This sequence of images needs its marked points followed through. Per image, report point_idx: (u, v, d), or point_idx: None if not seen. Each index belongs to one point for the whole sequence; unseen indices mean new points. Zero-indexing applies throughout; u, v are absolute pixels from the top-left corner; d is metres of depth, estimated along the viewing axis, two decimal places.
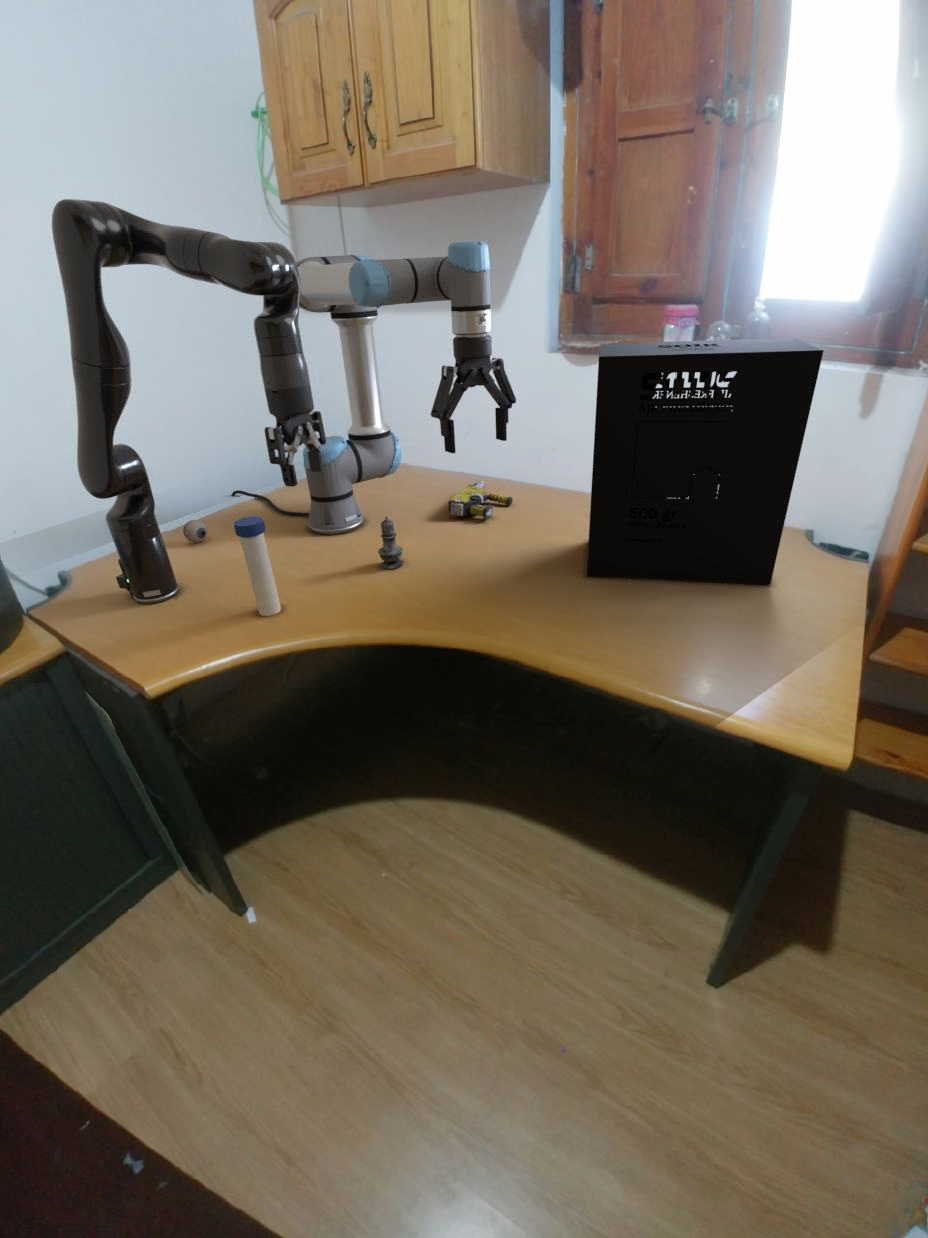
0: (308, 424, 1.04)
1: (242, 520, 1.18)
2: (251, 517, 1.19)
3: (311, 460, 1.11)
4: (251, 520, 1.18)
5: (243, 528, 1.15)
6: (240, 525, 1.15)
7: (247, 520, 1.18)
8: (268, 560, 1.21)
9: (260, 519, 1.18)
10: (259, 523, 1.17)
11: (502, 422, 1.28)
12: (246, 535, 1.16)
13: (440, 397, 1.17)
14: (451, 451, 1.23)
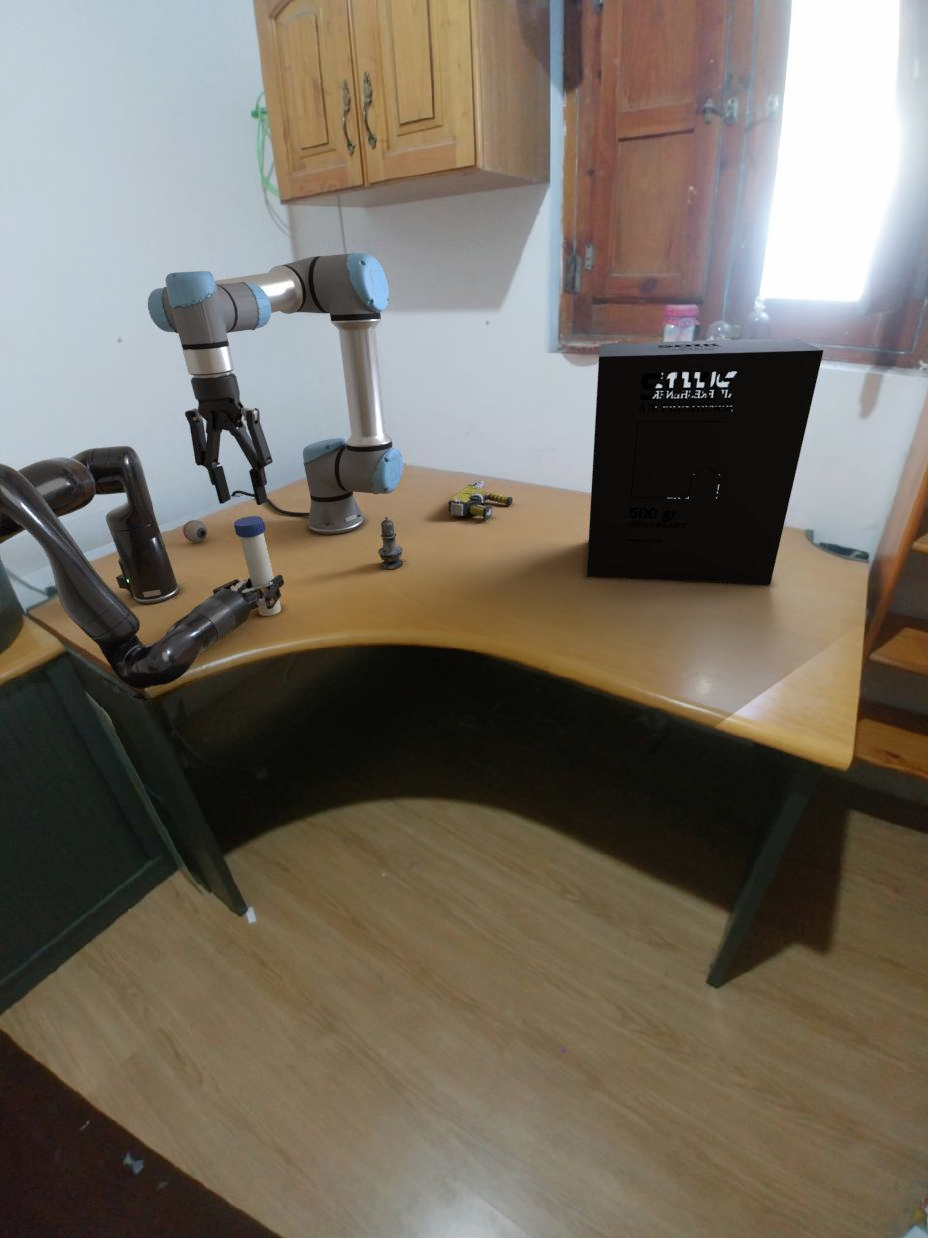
0: None
1: (242, 520, 1.18)
2: (251, 517, 1.19)
3: None
4: (251, 520, 1.18)
5: (243, 528, 1.15)
6: (240, 525, 1.15)
7: (247, 520, 1.18)
8: (268, 560, 1.21)
9: (260, 519, 1.18)
10: (259, 523, 1.17)
11: (224, 480, 1.15)
12: (246, 535, 1.16)
13: (264, 443, 1.09)
14: (266, 499, 1.15)
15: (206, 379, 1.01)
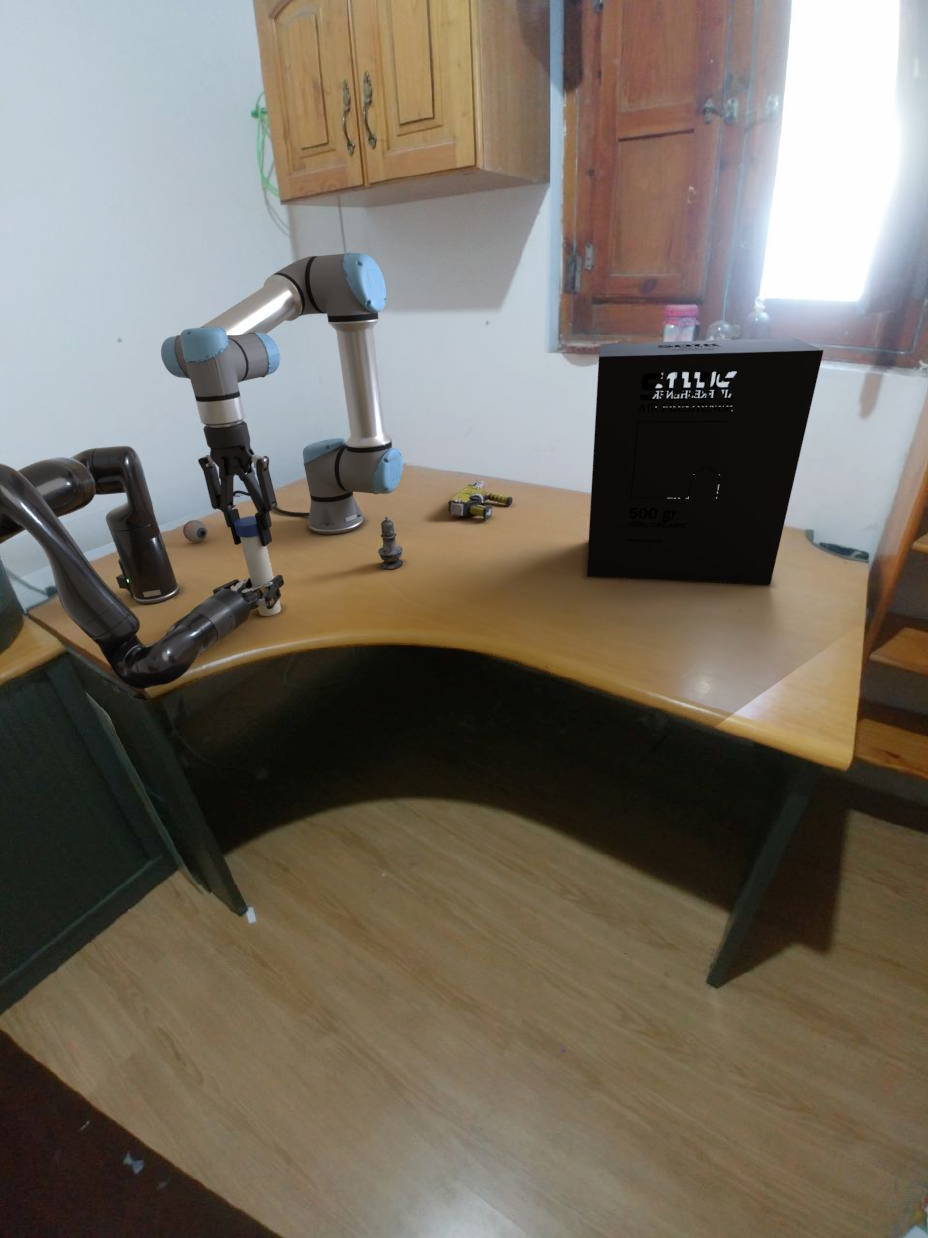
0: None
1: (242, 520, 1.18)
2: (251, 517, 1.19)
3: None
4: (251, 520, 1.18)
5: (243, 528, 1.15)
6: (240, 525, 1.15)
7: (247, 520, 1.18)
8: (268, 560, 1.21)
9: None
10: None
11: None
12: (246, 535, 1.16)
13: (271, 489, 1.13)
14: (271, 540, 1.20)
15: (218, 429, 1.05)
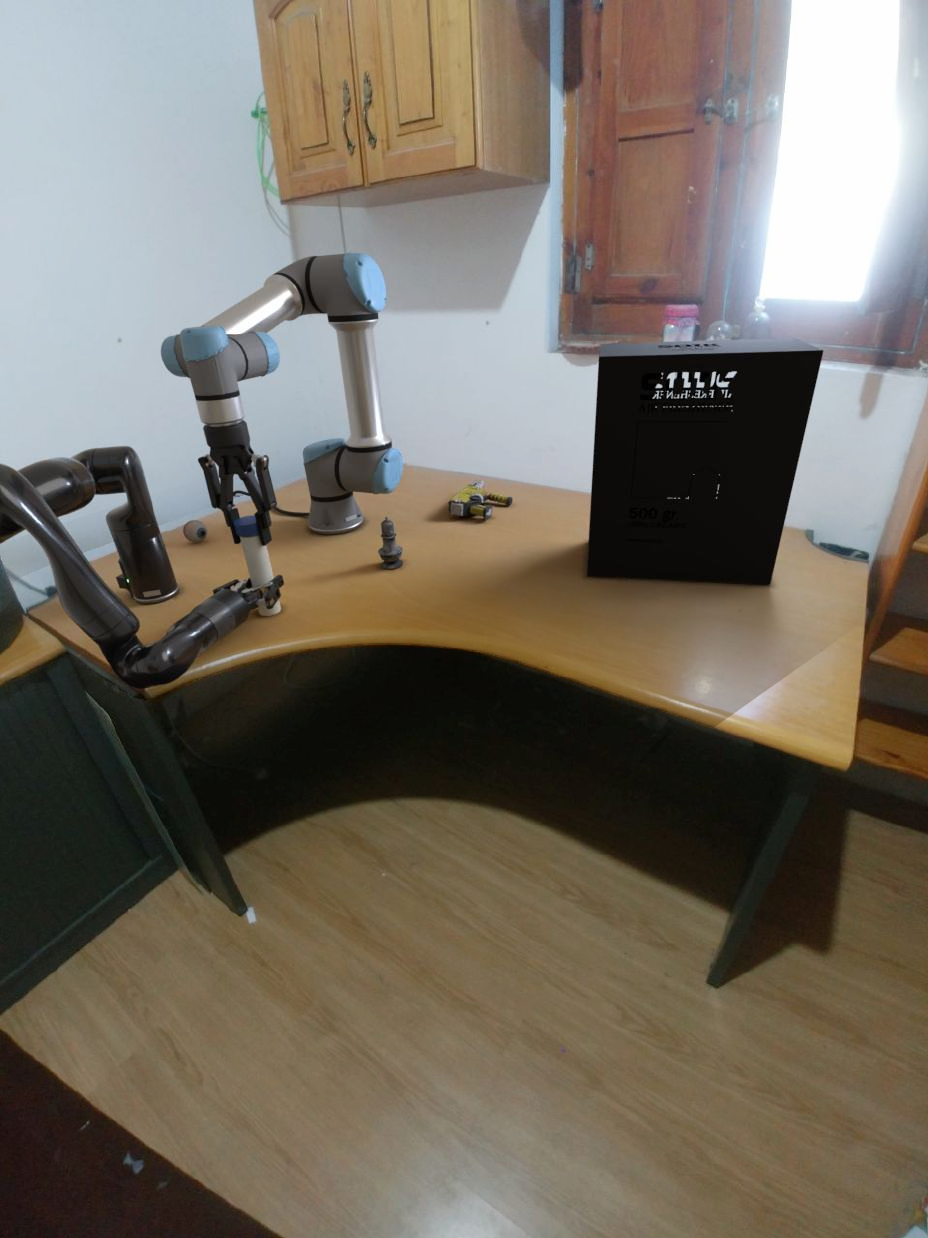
0: None
1: (248, 522, 1.16)
2: (238, 522, 1.16)
3: None
4: (246, 519, 1.18)
5: None
6: None
7: (246, 520, 1.17)
8: (268, 560, 1.21)
9: (241, 517, 1.19)
10: None
11: None
12: None
13: (270, 488, 1.13)
14: (271, 539, 1.19)
15: (218, 428, 1.05)
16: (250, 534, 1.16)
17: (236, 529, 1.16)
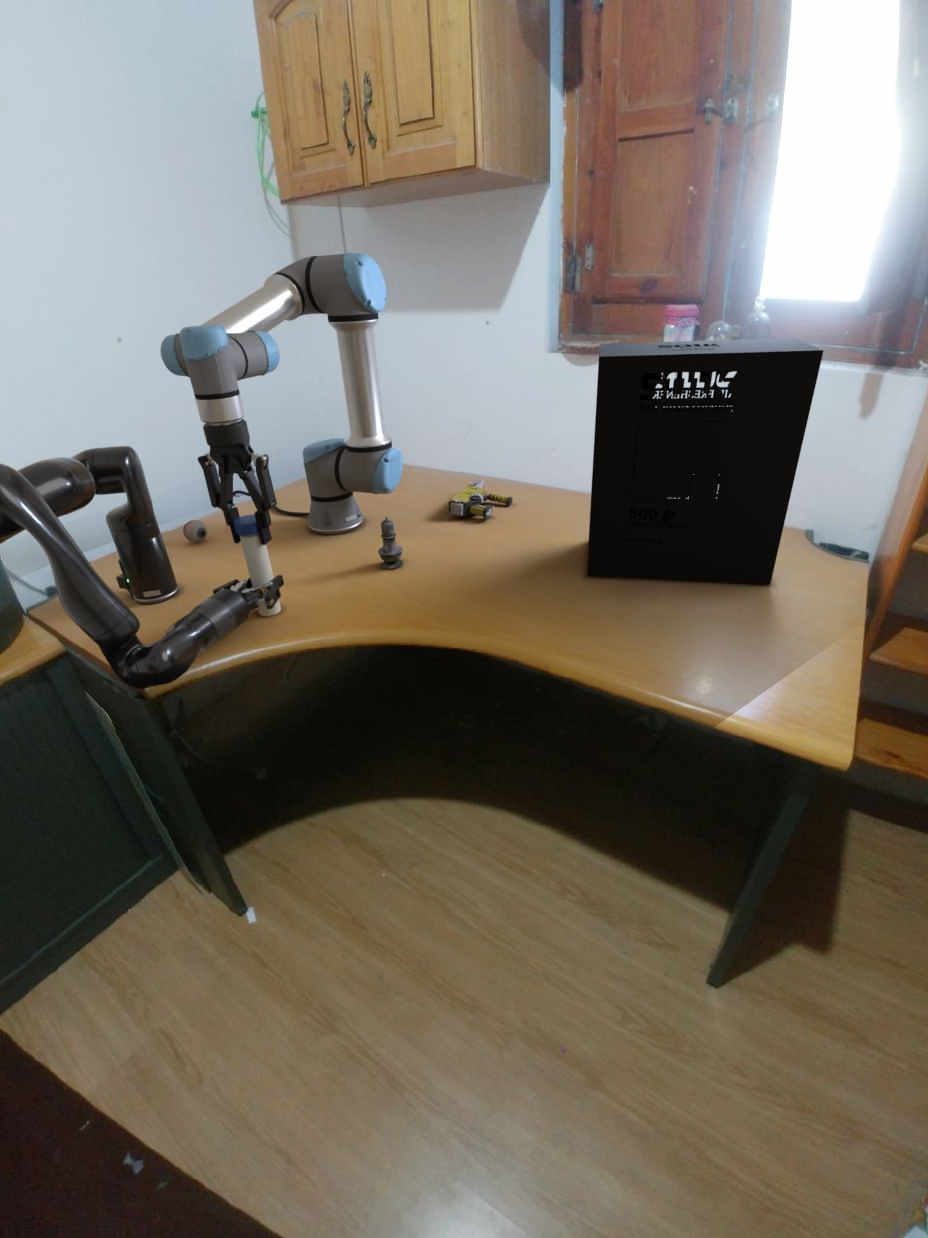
0: None
1: (253, 517, 1.18)
2: None
3: None
4: (247, 520, 1.17)
5: None
6: (240, 517, 1.19)
7: (250, 519, 1.17)
8: (268, 560, 1.21)
9: (243, 523, 1.15)
10: (235, 524, 1.16)
11: None
12: None
13: (270, 487, 1.13)
14: (270, 538, 1.19)
15: (218, 427, 1.05)
16: None
17: None
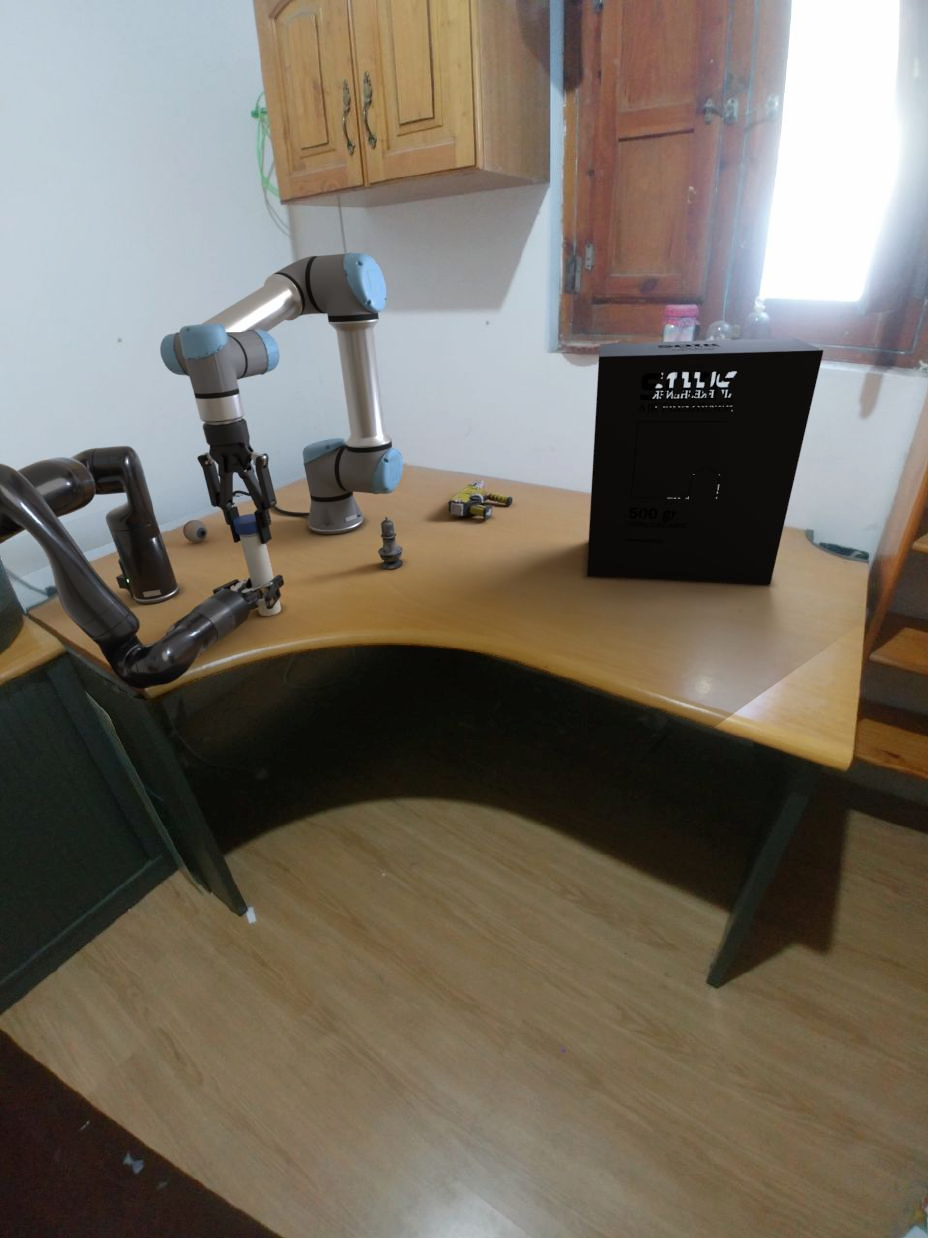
0: None
1: (240, 519, 1.17)
2: (247, 515, 1.19)
3: None
4: (250, 517, 1.17)
5: (247, 525, 1.15)
6: (243, 523, 1.15)
7: (246, 518, 1.17)
8: (268, 560, 1.21)
9: None
10: None
11: None
12: (250, 532, 1.16)
13: (270, 486, 1.13)
14: (270, 537, 1.19)
15: (218, 426, 1.05)
16: None
17: None
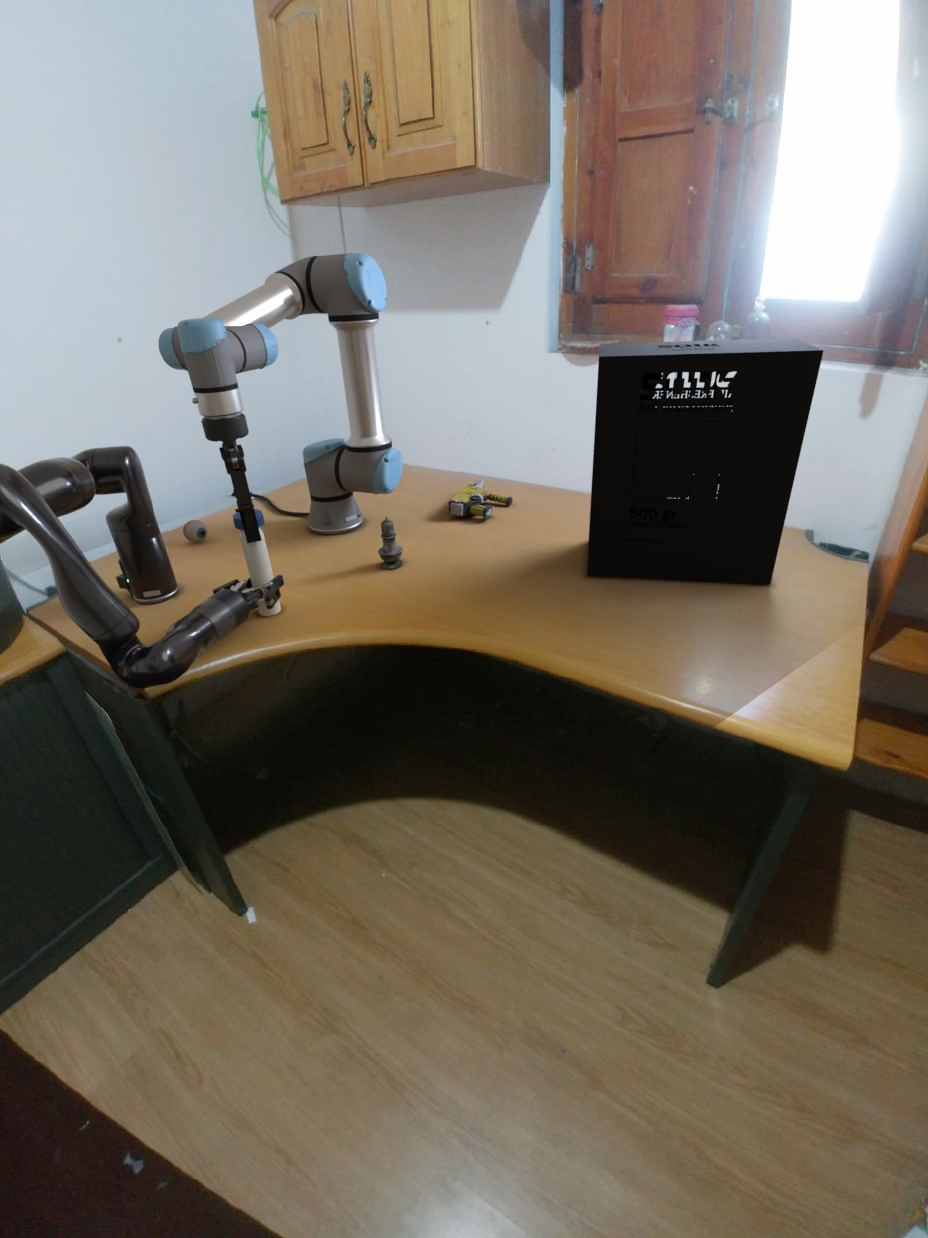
0: None
1: None
2: (239, 517, 1.16)
3: None
4: None
5: None
6: (259, 511, 1.18)
7: None
8: (268, 560, 1.21)
9: (237, 512, 1.18)
10: None
11: None
12: None
13: None
14: None
15: (241, 413, 1.09)
16: None
17: (238, 524, 1.15)
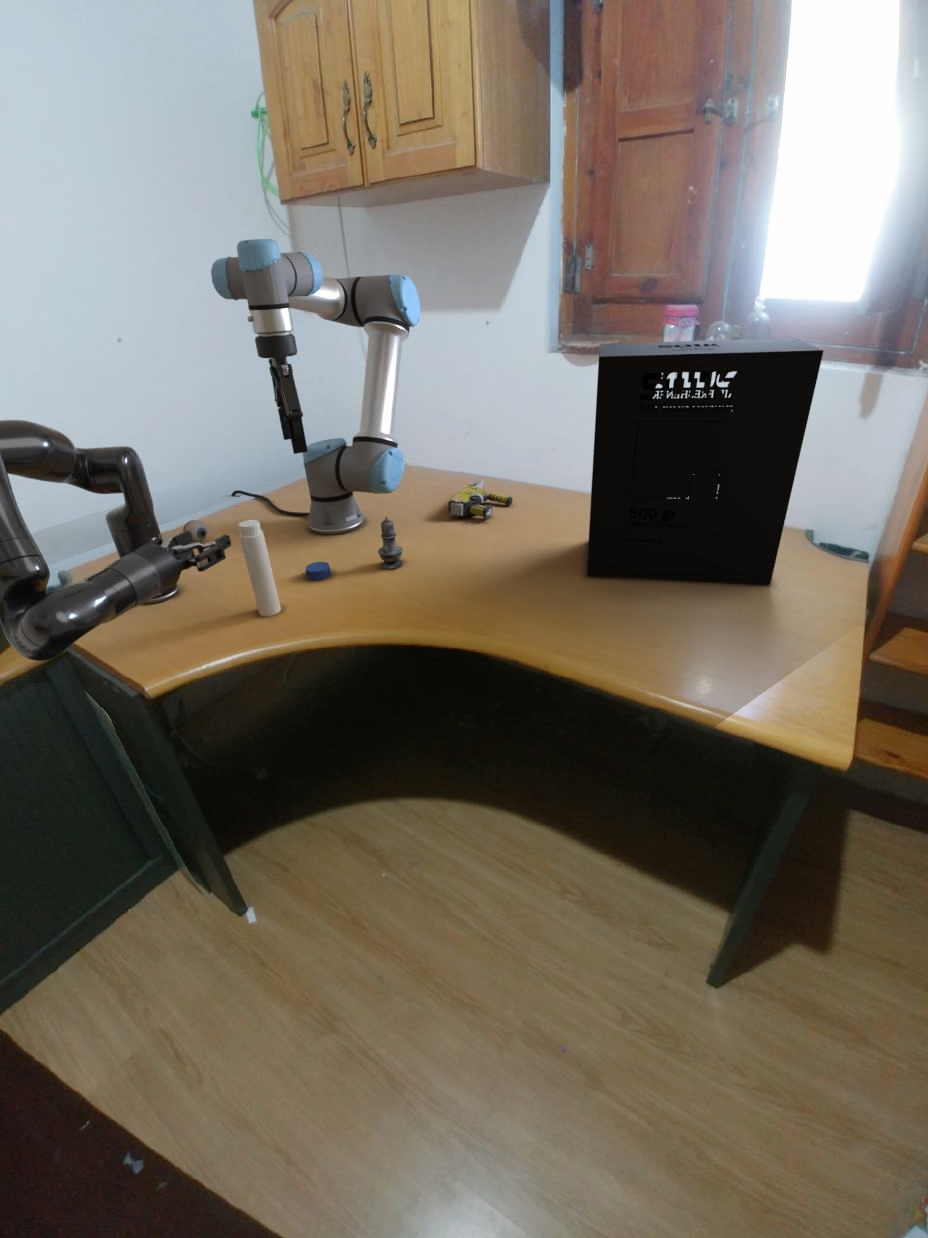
0: None
1: (319, 568, 1.39)
2: (311, 569, 1.39)
3: None
4: (314, 566, 1.40)
5: None
6: (326, 563, 1.41)
7: (317, 567, 1.40)
8: (268, 560, 1.21)
9: (308, 565, 1.41)
10: None
11: None
12: None
13: None
14: None
15: None
16: (323, 577, 1.39)
17: (310, 575, 1.39)
